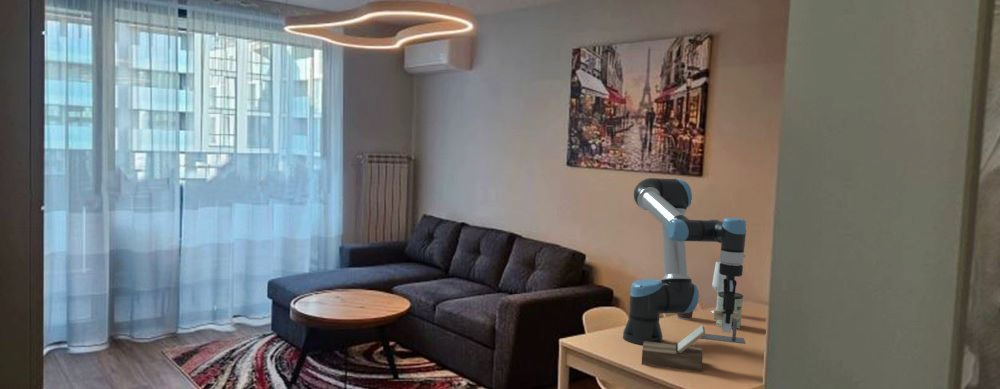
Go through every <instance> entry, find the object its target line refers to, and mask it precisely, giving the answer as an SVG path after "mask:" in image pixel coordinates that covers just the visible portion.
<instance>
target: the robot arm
mask: <svg viewBox="0 0 1000 389" xmlns="http://www.w3.org/2000/svg"><path fill="white" fill-rule="evenodd" d="M633 200H634V201H635V204H636V205H637V206H638V207H639V208H641V209H642V210H644V211H648V212H649V214H651V215H652V216H653V217H654V218H655V219H656V220H658V222H659V223H660V224H661V228H662V229H661V231H662V244H663V245H662V247H663V265H664V276H663V277H662V278H661V280H659V279H654V278H653V279H651V278H645V279H638V280H635V281H633V282H632V284H631V287H630V291H629V295H630V296H629V307H628V308H629V309H628V310H629V311H628V318H627V319H628V320H627V322H626V324H625V327H624V328H623V333H622V334H623V335H622V338H623V340H625V341H627V342H629V343H633V344H639V345H643V343H644V341H648V342H657V343H663V339H664V338H663V332H662V328H661V325H660V314H677V313H679V314H683V313H690V312H692V311H693V312H694V310H695V309H696V307H697V305H698V304H699V298H700V294H699V289H698V287H697V285H696V284H695V283H692V278H691V277H690V276H689V275H688V269H687V268H688V267H687V266H688V265H687V254H686V251H687V250H686V242H707V243H708V242H709V243H719V244H720V245H721V246H720V253H719V262H722V263H720V267H719V273H720V274H722V275H726V279H724V281H723V283H724V291H723V292H724V298H723V310H725V311H724V312H722V313H723V314H724V316H723V320H722V327H721V331H722V333H728V334H731V333H732V329H731V324H732V314H733V306H734V295H735V293H736V287H737V284H738V283H737V280H736V277H742V276H743V273H744V272H743V268H744V266H743V263H744V258H746V254H744V252H745V247H746V246H745V244H746V234H747V228H746V227H747V221H746V220H745V219H744V218H737V217H724V218H723V221H722V220H719V219H712V218H711V219H707V220H706V219H704V220H701V219H689V218H688V217H687V216H685V214H686V213H687V211H688V209H687V208H689V207H690V206H691V205H692V201H693V193H692V189H691V187H690V185H689V183H688V182H687V181H685V180H684V179H677V178H660V177H659V178H655V177H650V178H649V177H648V178H645V179H642V180H640V182H638V183H637V185H636V186H635V188H634V190H633Z"/></svg>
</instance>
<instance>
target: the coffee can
mask: <svg viewBox="0 0 1000 389" xmlns="http://www.w3.org/2000/svg"><path fill="white" fill-rule="evenodd" d="M717 296H718V306H717V305H716V309H721V310H723V298H724V291H723V292H717ZM743 298H744V294H742V293H739V292H735V295H734V306H733V311H738V312H739V320H738V322H737V328H738V329H740V328H741V325H742V324H741V323H742V311H743V310H742V308H743ZM715 324H717V325H718V326H717V325H716V326H717V327H720V326H721V328H722V320H716V323H715ZM731 328H733V321H732V324H731Z"/></svg>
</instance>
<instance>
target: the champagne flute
mask: <svg viewBox="0 0 1000 389" xmlns="http://www.w3.org/2000/svg"><path fill="white" fill-rule="evenodd" d="M720 263H722V262H721V261H716V262H715V265H714V266H715V267H714V270H713V271H714V272H713V276H712V283H711V286H712V288H713V290H714V291H715V292H716V293H718V292H724V283H723V281H724V279H726V275H722V274H720V273H719V267H720ZM717 306H718V295H717V297H716V307H717ZM710 312H712V313H714V309H713V310H711V311H710ZM712 313H711V314H712Z"/></svg>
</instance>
